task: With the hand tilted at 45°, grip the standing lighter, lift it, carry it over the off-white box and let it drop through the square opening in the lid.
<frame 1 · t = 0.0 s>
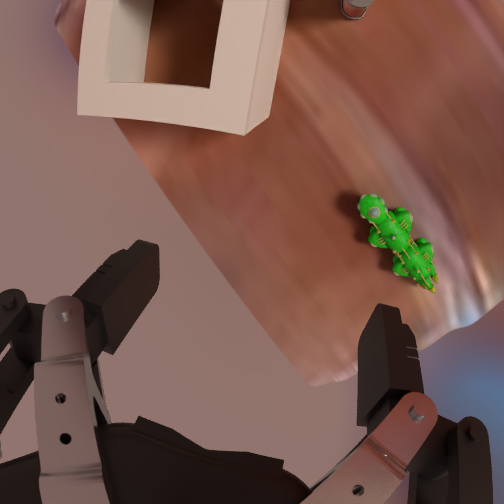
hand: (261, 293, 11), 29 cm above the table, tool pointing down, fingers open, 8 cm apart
green elongated figure: (399, 236, 40), on the table
slot box: (207, 36, 31), on the table
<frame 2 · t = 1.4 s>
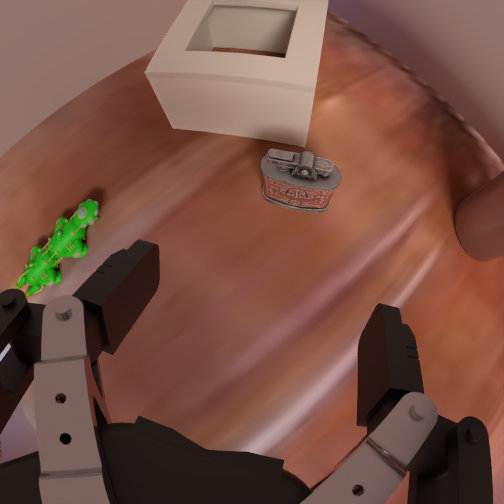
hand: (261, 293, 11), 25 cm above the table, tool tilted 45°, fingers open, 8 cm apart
lighter: (296, 197, 38), on the table
green elongated figure: (64, 254, 39), on the table
slot box: (251, 85, 42), on the table
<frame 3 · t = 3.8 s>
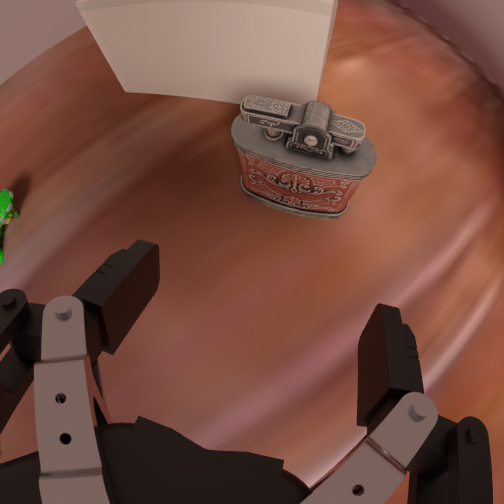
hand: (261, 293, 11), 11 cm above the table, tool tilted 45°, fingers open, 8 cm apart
lighter: (294, 193, 24), on the table
slot box: (239, 38, 28), on the table
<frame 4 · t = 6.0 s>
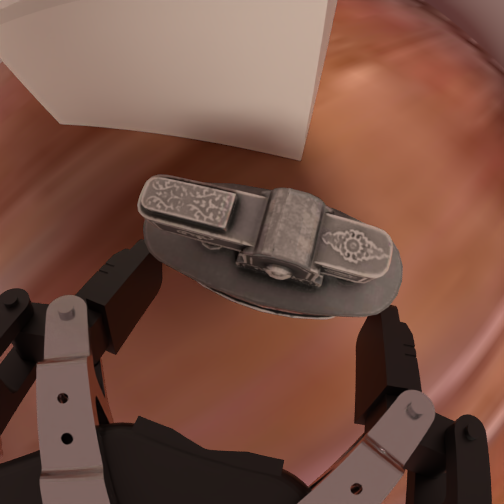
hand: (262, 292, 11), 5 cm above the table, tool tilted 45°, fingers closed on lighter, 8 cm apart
lighter: (270, 280, 17), on the table, touching gripper
slot box: (206, 42, 21), on the table
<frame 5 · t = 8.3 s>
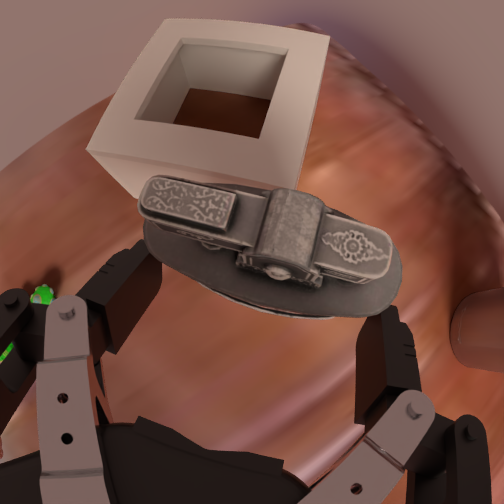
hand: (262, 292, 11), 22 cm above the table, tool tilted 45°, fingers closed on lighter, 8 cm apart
lighter: (269, 280, 17), point 16 cm above the table, touching gripper
green elongated figure: (25, 328, 34), on the table
slot box: (228, 145, 37), on the table
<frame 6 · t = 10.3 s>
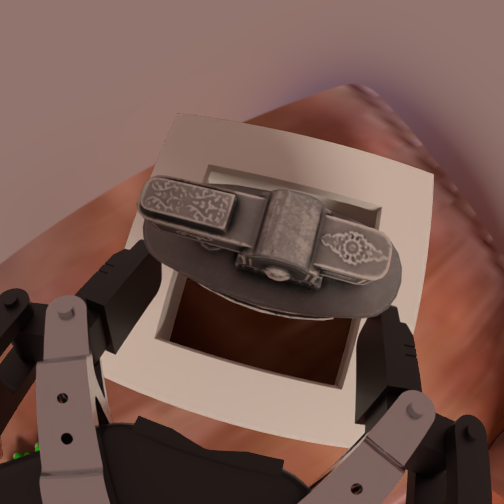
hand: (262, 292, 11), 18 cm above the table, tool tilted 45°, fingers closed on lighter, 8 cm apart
lighter: (269, 280, 17), point 13 cm above the table, touching gripper
slot box: (271, 291, 30), on the table
when the fingers open (18 cm above the table, at t = 11.1 s): lighter drops 11 cm, resting on slot box.
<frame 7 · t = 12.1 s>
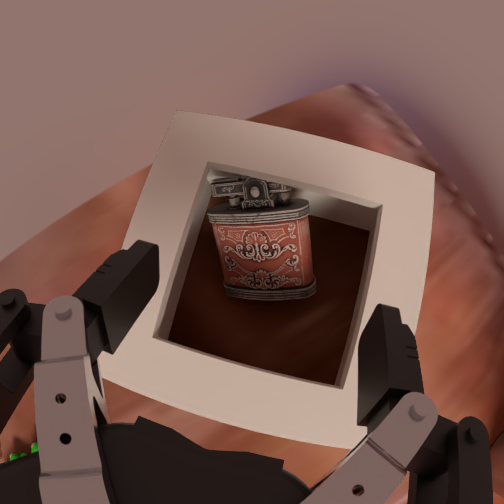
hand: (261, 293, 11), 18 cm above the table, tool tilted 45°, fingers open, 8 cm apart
lighter: (270, 290, 28), point 2 cm above the table, touching slot box
slot box: (270, 290, 29), on the table
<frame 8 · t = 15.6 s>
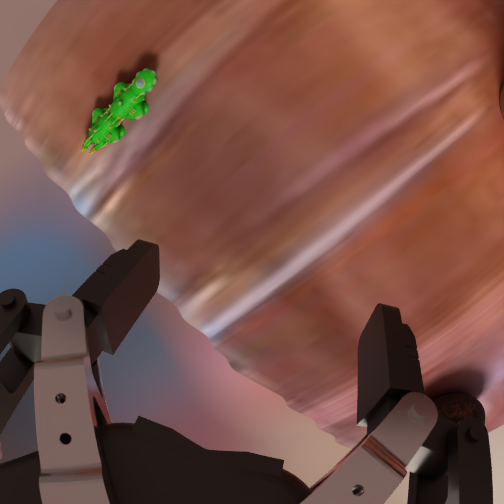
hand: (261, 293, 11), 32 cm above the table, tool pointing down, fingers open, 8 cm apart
green elongated figure: (124, 110, 42), on the table
glass bottle: (446, 402, 60), on the table
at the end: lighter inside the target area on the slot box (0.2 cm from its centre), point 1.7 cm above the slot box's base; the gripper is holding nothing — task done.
